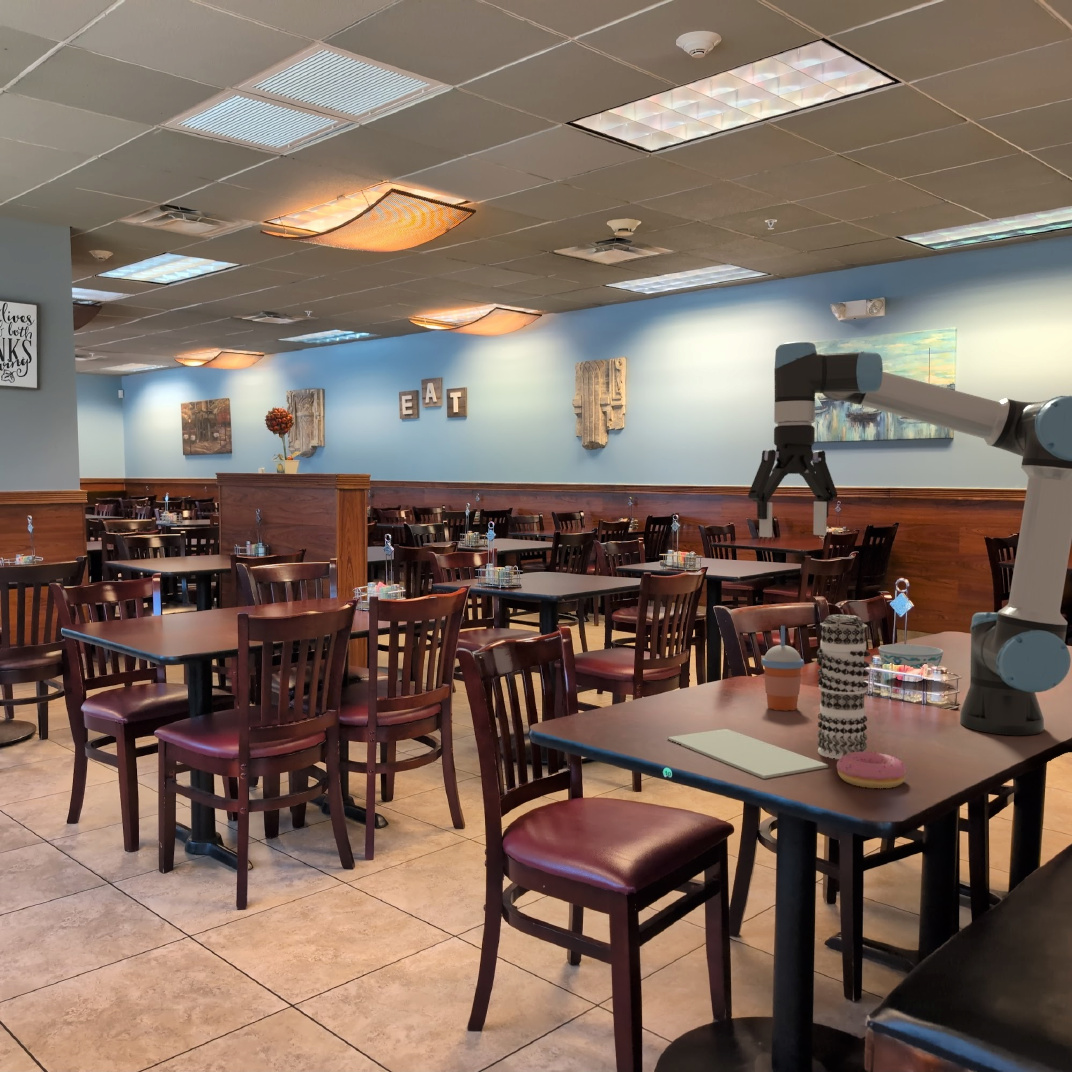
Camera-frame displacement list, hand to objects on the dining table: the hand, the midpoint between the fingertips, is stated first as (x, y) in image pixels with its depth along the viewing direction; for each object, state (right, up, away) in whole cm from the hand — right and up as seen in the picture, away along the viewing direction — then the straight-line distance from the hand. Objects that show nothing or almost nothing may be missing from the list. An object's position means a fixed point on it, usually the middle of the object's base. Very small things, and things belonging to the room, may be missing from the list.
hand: (793, 536), depth 187 cm
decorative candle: (+6, -40, -11) cm, 41 cm away
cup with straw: (+4, -38, +26) cm, 46 cm away
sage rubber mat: (-12, -39, -10) cm, 42 cm away
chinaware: (+44, -36, +56) cm, 79 cm away
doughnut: (+6, -41, -27) cm, 49 cm away
